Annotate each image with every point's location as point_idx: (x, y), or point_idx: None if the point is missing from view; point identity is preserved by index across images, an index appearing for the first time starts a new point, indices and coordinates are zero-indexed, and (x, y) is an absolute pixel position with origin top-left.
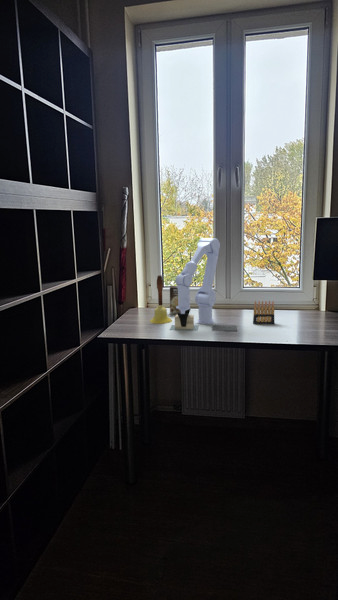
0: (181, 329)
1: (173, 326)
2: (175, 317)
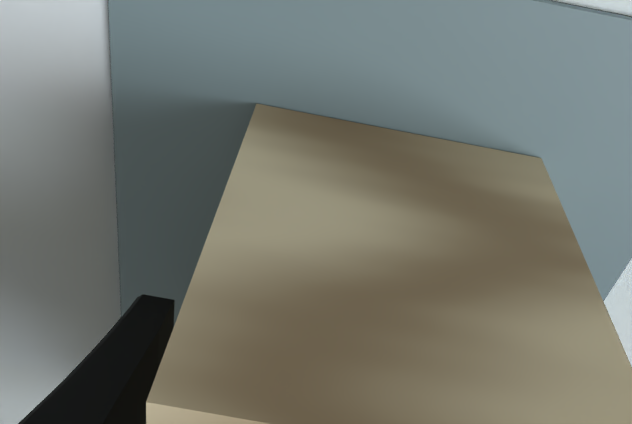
0: (191, 241)
1: (558, 84)
2: (147, 410)
